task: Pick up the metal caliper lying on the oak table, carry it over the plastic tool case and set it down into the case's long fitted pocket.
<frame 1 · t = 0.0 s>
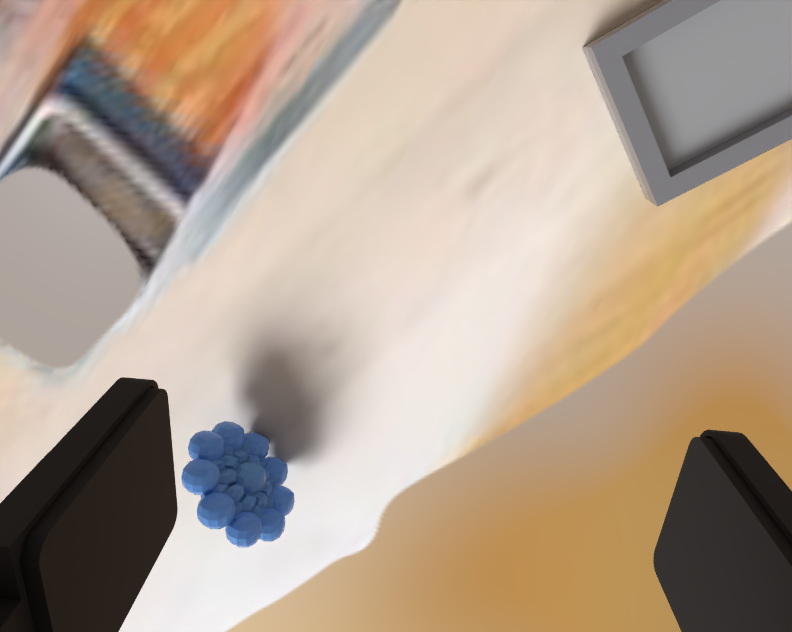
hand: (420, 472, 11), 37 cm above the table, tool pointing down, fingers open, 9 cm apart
blue bumpy cluster: (252, 442, 56), on the table
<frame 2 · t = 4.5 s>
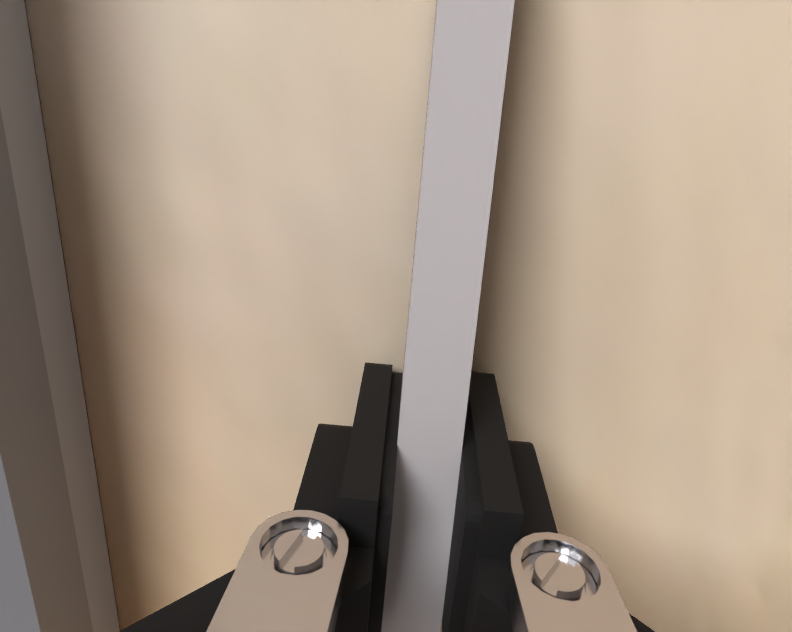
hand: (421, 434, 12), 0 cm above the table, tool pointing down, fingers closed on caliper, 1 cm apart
caliper: (422, 413, 12), on the table, touching gripper
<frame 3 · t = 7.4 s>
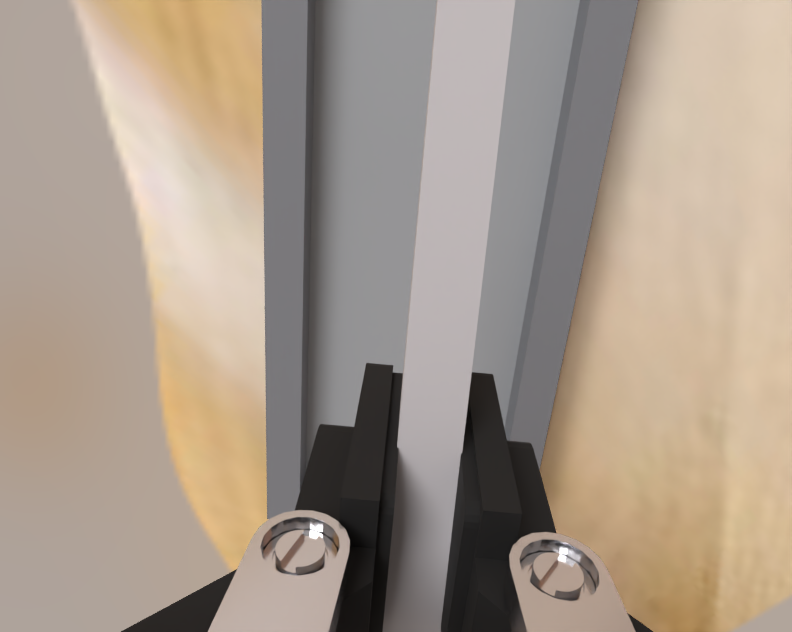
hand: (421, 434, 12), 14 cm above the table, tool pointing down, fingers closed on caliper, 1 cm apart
caliper: (422, 416, 12), point 14 cm above the table, touching gripper
tool case: (422, 235, 25), on the table
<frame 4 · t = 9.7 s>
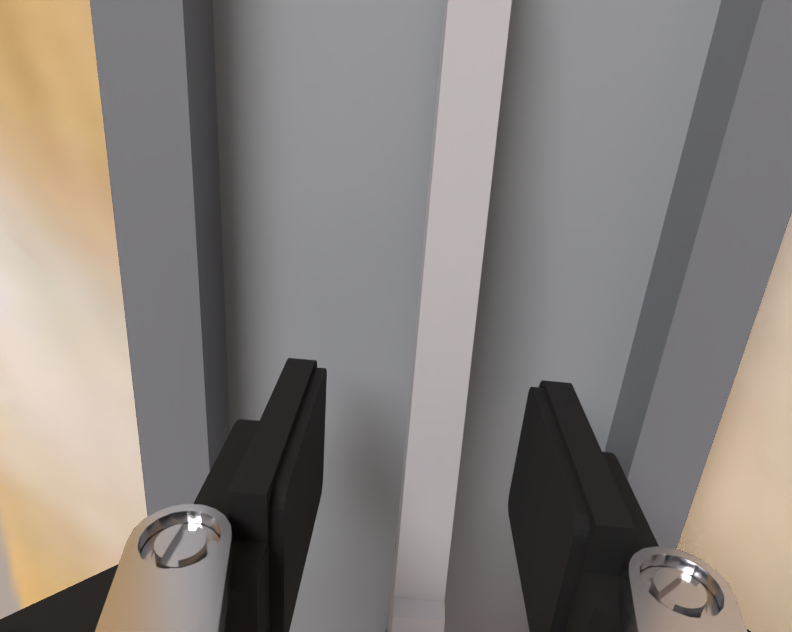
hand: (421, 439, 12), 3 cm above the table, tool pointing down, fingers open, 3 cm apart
caliper: (429, 371, 14), point 1 cm above the table, touching tool case
tool case: (422, 361, 15), on the table
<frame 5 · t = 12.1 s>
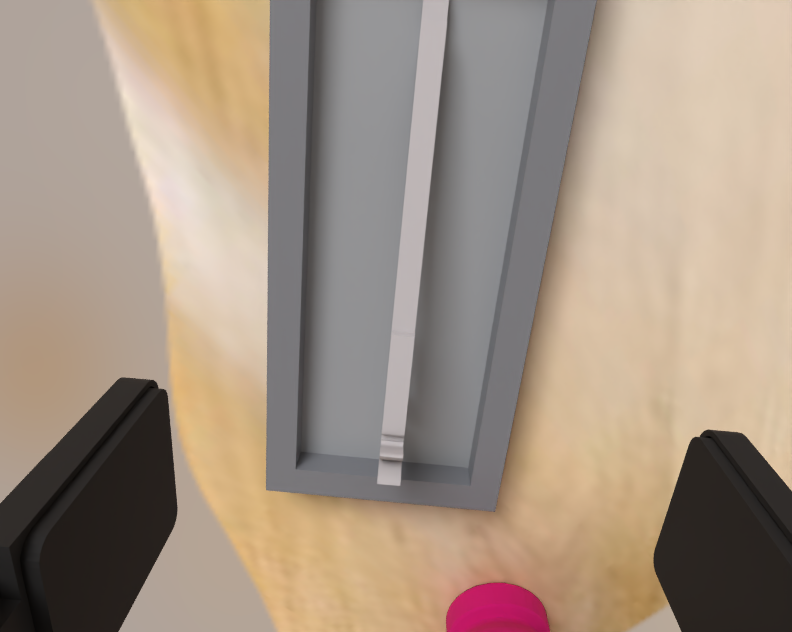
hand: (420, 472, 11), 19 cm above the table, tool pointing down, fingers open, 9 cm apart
caliper: (410, 239, 28), point 1 cm above the table, touching tool case
pepper mill: (495, 615, 38), on the table
tool case: (406, 238, 29), on the table
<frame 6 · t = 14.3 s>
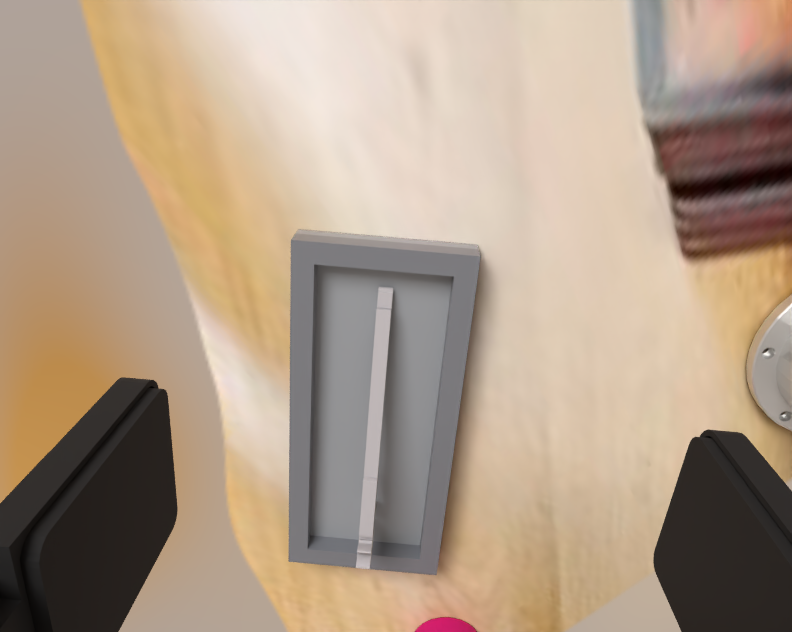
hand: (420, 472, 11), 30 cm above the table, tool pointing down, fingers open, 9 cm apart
caliper: (377, 412, 45), point 1 cm above the table, touching tool case
tool case: (375, 409, 46), on the table
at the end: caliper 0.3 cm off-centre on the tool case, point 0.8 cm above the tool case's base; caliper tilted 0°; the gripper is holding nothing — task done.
